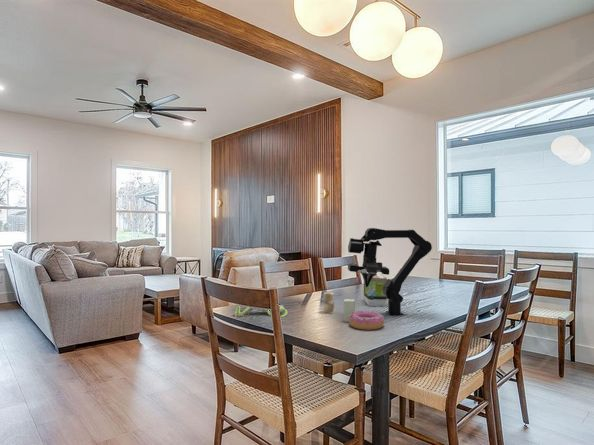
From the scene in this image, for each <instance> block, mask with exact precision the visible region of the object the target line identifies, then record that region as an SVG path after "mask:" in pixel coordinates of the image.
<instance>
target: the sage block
mask: <svg viewBox="0 0 594 445" xmlns="http://www.w3.org/2000/svg"><path fill="white" fill-rule="evenodd" d="M354 312H356V299H354V298H344V300H343V322H344V323H350V322H349V318H350V316H351V315H350V314H352V313H354ZM349 315H350V316H349Z"/></svg>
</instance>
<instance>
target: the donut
mask: <svg viewBox="0 0 594 445" xmlns="http://www.w3.org/2000/svg"><path fill="white" fill-rule="evenodd" d="M350 315H351V316H350ZM350 315H349V316H350V318H349V322H348V323H349V324H350V326H351V327H353V328H355V329H358V330H363V331H364V330H365V331H366V330H367V331H375V330H378V329H381V328H383V326H384V325H385V318H384V315H382V314H381V313H379V312H374V311H368V310H366V311H365V310H364V311H362V310H361V311H355V312H354V313H352V314H350Z"/></svg>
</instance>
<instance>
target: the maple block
mask: <svg viewBox="0 0 594 445" xmlns="http://www.w3.org/2000/svg"><path fill="white" fill-rule="evenodd" d="M334 313H335V292H330V291H329V292H326V291H325V292H324V293H323V314H334Z"/></svg>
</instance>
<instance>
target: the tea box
mask: <svg viewBox="0 0 594 445" xmlns="http://www.w3.org/2000/svg"><path fill="white" fill-rule="evenodd" d="M376 274H377V273H376ZM387 279H388V278H387V277H386V276H385V275H384V274H377V275H375V276H373V278H372V279H371V281H370V283H369V285H368V287H365V283H364V282H363V301H364V303H366V305H367V306H368V307H387V306H388V303H387V302H388V299H387V297H386V295H384V293H383V290H382V289H383V287H384V286H383V285H384V284H385V283H386V281H387Z"/></svg>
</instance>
